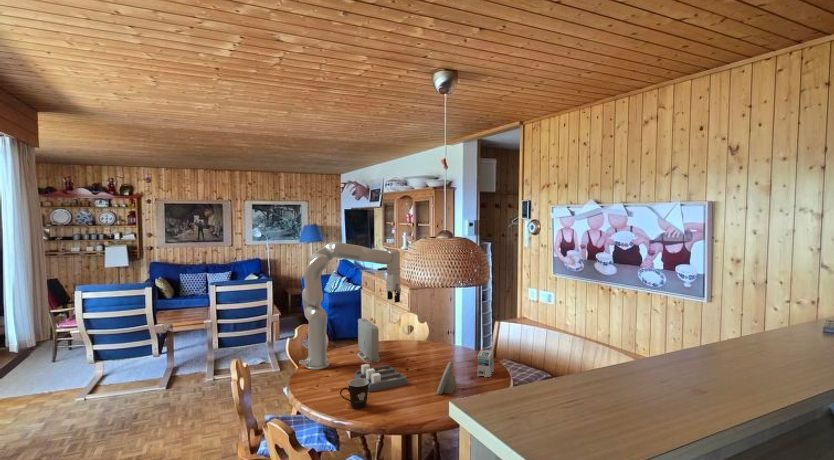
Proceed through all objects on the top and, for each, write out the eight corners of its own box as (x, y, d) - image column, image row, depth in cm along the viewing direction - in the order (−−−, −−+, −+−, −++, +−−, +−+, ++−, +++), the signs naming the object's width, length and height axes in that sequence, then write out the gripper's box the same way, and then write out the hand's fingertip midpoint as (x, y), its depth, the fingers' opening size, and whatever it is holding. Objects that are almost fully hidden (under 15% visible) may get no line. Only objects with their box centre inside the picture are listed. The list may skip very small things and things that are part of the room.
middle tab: (368, 379, 201) (368, 371, 201) (366, 377, 203) (366, 369, 203) (375, 378, 202) (375, 370, 202) (372, 376, 205) (372, 368, 205)
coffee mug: (369, 401, 182) (369, 378, 182) (368, 410, 173) (368, 386, 173) (342, 401, 181) (342, 378, 181) (339, 410, 173) (339, 386, 173)
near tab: (373, 384, 194) (373, 376, 194) (371, 382, 197) (371, 374, 197) (380, 383, 196) (380, 374, 196) (378, 381, 199) (378, 372, 199)
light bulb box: (490, 378, 208) (490, 356, 208) (476, 376, 210) (477, 355, 210) (493, 370, 218) (493, 350, 218) (480, 369, 220) (480, 349, 220)
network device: (354, 352, 249) (354, 318, 249) (368, 350, 253) (368, 317, 252) (368, 365, 226) (368, 328, 226) (383, 363, 230) (383, 327, 229)
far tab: (363, 374, 207) (363, 366, 207) (361, 372, 210) (361, 364, 209) (370, 373, 208) (369, 365, 208) (367, 371, 211) (367, 363, 211)
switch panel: (368, 391, 192) (368, 385, 192) (354, 377, 209) (353, 371, 209) (407, 384, 201) (407, 377, 201) (390, 370, 219) (390, 364, 218)
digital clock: (443, 381, 204) (443, 359, 204) (461, 384, 201) (461, 362, 200) (430, 394, 190) (430, 370, 189) (449, 397, 186) (449, 373, 185)
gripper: (381, 270, 251) (381, 299, 251) (394, 273, 236) (394, 304, 236) (393, 269, 255) (393, 297, 255) (406, 272, 239) (406, 302, 240)
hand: (393, 300), depth 246 cm, fingers open, 9 cm apart
